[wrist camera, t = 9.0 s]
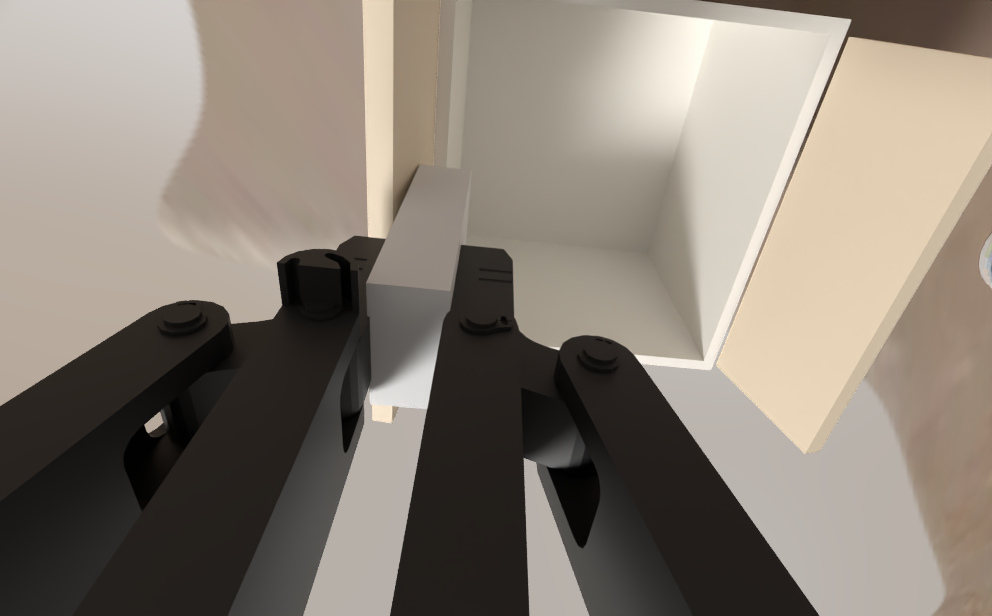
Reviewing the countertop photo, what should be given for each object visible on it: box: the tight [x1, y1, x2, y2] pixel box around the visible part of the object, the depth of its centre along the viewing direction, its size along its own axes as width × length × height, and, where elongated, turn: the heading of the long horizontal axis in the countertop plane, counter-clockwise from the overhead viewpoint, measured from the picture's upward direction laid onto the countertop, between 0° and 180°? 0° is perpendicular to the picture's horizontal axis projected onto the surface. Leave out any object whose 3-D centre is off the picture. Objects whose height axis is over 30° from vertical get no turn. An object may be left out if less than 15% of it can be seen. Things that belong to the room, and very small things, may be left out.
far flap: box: [716, 37, 992, 454], centre depth 16 cm, size 4×11×1 cm
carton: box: [434, 0, 852, 370], centre depth 21 cm, size 12×11×10 cm
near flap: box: [363, 0, 440, 423], centre depth 15 cm, size 4×11×1 cm
